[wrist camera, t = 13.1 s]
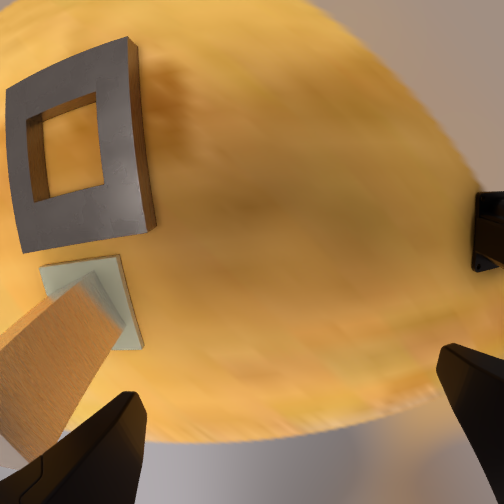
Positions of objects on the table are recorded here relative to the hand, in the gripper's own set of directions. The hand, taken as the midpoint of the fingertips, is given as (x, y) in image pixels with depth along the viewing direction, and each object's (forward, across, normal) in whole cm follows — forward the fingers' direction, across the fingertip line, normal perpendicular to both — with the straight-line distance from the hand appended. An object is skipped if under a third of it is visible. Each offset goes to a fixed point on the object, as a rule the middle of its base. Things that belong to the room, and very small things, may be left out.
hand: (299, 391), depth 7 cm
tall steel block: (+11, +13, +2) cm, 17 cm away
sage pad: (+12, +13, +2) cm, 18 cm away
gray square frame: (+12, +11, -9) cm, 19 cm away
